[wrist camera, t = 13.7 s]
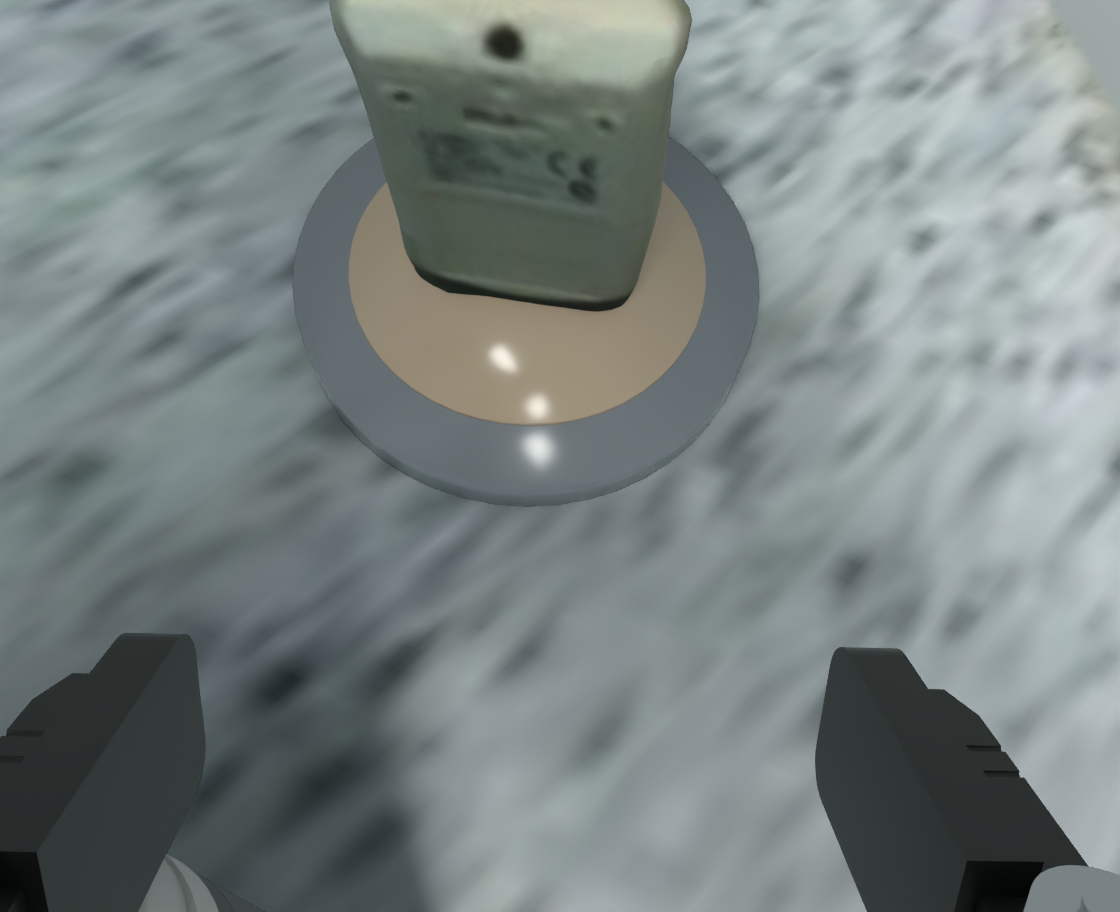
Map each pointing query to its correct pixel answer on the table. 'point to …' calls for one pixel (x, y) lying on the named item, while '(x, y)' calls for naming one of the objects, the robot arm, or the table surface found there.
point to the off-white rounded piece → (521, 137)
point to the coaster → (525, 348)
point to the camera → (189, 892)
